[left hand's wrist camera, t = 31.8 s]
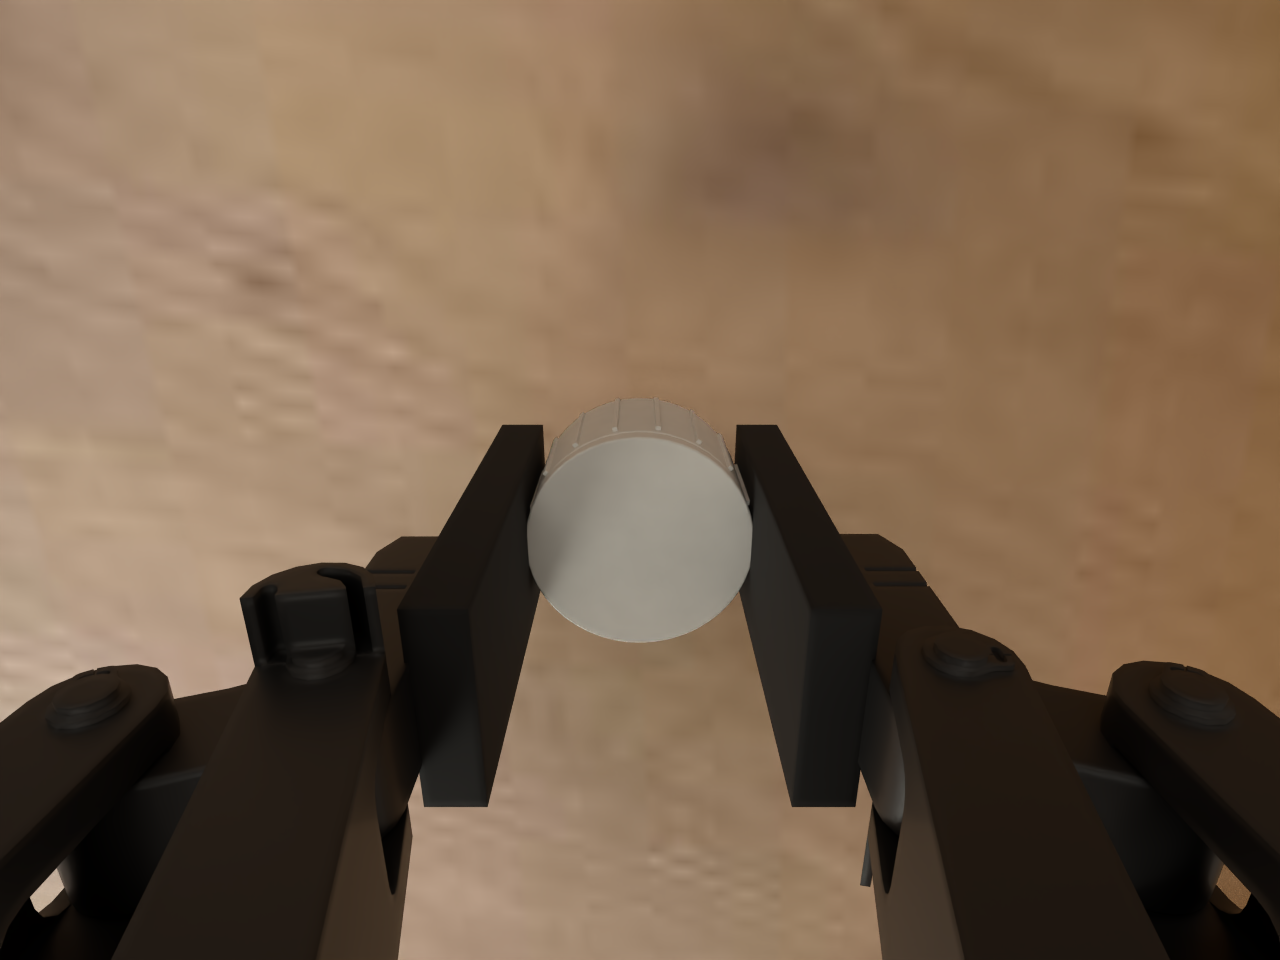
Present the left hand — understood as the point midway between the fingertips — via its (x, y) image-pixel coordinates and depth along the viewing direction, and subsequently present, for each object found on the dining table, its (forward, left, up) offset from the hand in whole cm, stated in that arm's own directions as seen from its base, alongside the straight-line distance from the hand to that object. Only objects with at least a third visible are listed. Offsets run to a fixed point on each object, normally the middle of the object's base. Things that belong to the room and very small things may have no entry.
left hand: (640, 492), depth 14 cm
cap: (0, 0, +2) cm, 2 cm away
